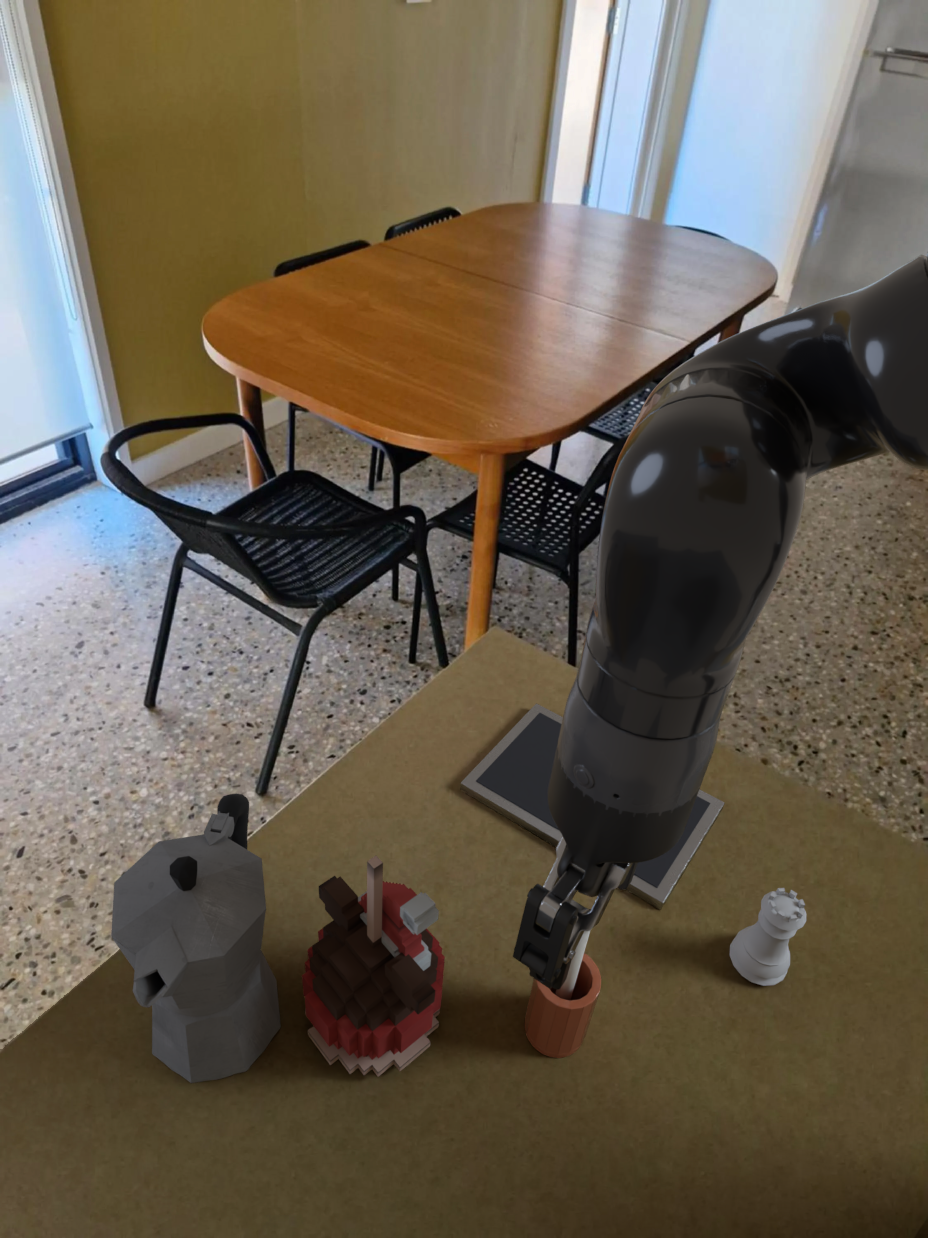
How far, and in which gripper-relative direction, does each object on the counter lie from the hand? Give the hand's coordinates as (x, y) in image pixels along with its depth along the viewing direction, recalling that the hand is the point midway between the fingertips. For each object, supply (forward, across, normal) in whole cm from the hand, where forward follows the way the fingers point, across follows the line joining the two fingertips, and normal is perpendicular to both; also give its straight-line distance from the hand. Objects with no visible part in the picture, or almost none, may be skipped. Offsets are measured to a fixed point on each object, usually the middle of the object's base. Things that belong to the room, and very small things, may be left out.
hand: (581, 925), depth 56 cm
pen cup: (+13, 0, 0) cm, 13 cm away
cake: (+13, -7, +11) cm, 19 cm away
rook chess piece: (+13, +14, -10) cm, 22 cm away
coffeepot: (+13, -13, +20) cm, 27 cm away
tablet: (+13, +20, +8) cm, 25 cm away
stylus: (+12, 0, 0) cm, 13 cm away
